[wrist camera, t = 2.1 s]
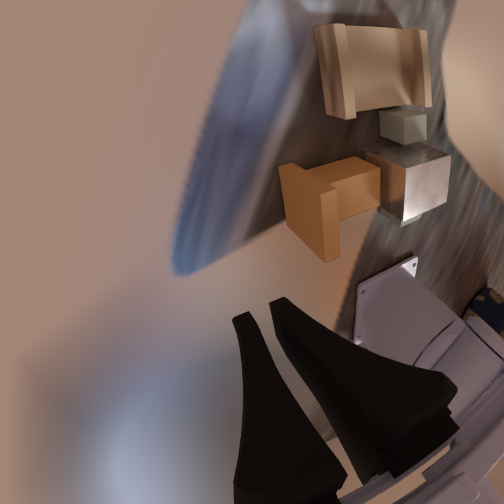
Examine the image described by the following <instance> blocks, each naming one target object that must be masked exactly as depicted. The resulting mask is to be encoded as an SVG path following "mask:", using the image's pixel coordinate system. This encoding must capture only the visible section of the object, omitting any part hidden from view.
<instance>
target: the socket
mask: <svg viewBox="0 0 504 504" xmlns="http://www.w3.org/2000/svg"><path fill="white" fill-rule="evenodd" d="M379 122H380V136H382V137H384V138H387V139H390V140H393V141H395V142H398V143H401V144H403V145H406V144H410V143H414V142H419V141H423V140H426V114H424V113H421V112H417V111H413V110H410V109H406V108H402V107H401V108H394V109H387V110H380V111H379ZM380 214H382V215H383V216H385V217H386V218H388V219H389V220H391V221H392V222H394V223H395V224H397V225H398V226H400V227H402V226H404V225H407V224H409V223H411V222H413V221H415V220H418V219H420V218H421V214H419V215H417V216H414V217H412V218H410V219H408V220H405V221H401V220H400V219H398V218H397V217H395V216H394V215H392V214H391V213H389V212H387V211H386V210H384V209H383V208H381V207H380Z"/></svg>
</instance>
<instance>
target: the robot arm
mask: <svg viewBox="0 0 504 504" xmlns="http://www.w3.org/2000/svg"><path fill="white" fill-rule="evenodd" d="M417 262H418V257H417V256H415V255H414V256H412V257H410V258H408V259H406V260H404V261H402V262H400V263H399V264H397V265H395V266H393V267H391V268H389V269H387V270H385V271H383V272H381V273H379V274H377V275H375V276H373V277H371V278H369V279H367V280H365V281H363V282H361V283H360V284H359V285H358V288H357V302H356V316H355V328H354V339H353V343H352V342H350V341H348V340H347V339H345V338H343V337H341V336H339V335H338V334H336V333H334V332H333V331H331V330H329V329H328V328H326V327H325V326H323V325H322V324H320V323H319V322H317V321H316V320H314V319H312V318H311V317H310V316H309V315H307V314H306V313H305V312H303V311H301V309H299V308H298V307H297V306H295V305H294V304H293V303H292V302H290V301H289V300H288V299H287V298H285V297H282V298H280V299H277V300H275V301H272V302H270V303H269V305H270V310H271V315H272V319H273V324H274V329H275V334H276V337H277V339H278V341H279V343H280V344H281V346H282V348H283V350H284V352H285V354H286V356H287V357H288V359H289V360H290V362H291V363H292V365H293V366H294V368H295V369H296V370H297V372H298V373H299V375H300V376H301V378H302V379H303V381H304V382H305V383H306V385H307V386H308V388H309V389H310V391H311V392H312V393H313V395H314V396H315V398H316V399H317V401H318V402H319V404H320V406H321V408H322V409H323V411H324V413H325V415H326V416H327V418H328V420H329V422H330V424H331V425H332V427H333V429H334V431H335V433H336V435H337V436H338V438H339V440H340V442H341V444H342V446H343V448H344V450H345V452H346V454H347V455H348V457H349V459H350V461H351V463H352V465H353V467H354V469H355V471H356V473H357V475H358V478H359V479H360V481H361V483H362V484H363V486H362V487H360V488H358V489H357V490H355V491H353V492H351V493H349V494H347V495H346V496H343V497H341V498H339V499H338V498H337V495H336V493H337V490H339V489H341V488H342V486H343V484H344V482H345V480H346V478H347V473H346V471H345V469H344V468H343V466H342V465H341V463H340V461H339V460H338V459H337V457H336V456H335V455H334V453H333V452H332V451H331V449H330V448H329V447H328V446H327V444H326V443H325V441H324V440H323V439H322V437H321V436H320V435H319V433H318V432H317V430H316V429H315V428H314V426H313V425H312V423H311V422H310V420H309V419H308V417H307V416H306V415H305V413H304V412H303V410H302V409H301V407H300V405H299V404H298V402H297V401H296V399H295V398H294V396H293V395H292V393H291V392H290V390H289V388H288V387H287V385H286V384H285V382H284V380H283V379H282V377H281V375H280V373H279V372H278V370H277V368H276V366H275V363H274V361H273V359H272V356H271V354H270V352H269V350H268V347H267V345H266V343H265V340H264V338H263V336H262V334H261V331H260V329H259V327H258V324H257V323H256V321H255V320H254V318H253V316H252V315H251V314H250V312H249V311H248V312H245V313H243V314H240V315H238V316H235V317H234V318H233V319H232V322H233V325H234V328H235V330H236V333H237V337H238V341H239V347H240V354H241V362H242V376H243V418H242V431H241V439H240V448H239V455H238V461H237V466H236V471H235V476H234V481H233V484H234V504H363V503H365V502H367V501H369V500H370V499H372V498H374V497H375V496H377V495H378V494H380V493H382V492H383V491H385V490H387V489H388V488H390V487H392V486H393V485H395V484H396V483H398V482H399V481H401V480H402V479H404V478H405V477H407V476H408V475H410V474H411V473H412V472H414V471H415V470H416V469H418V468H419V467H421V466H422V465H423V464H425V463H426V462H427V461H429V460H430V459H431V458H433V457H434V456H435V455H436V454H438V453H439V452H440V451H441V450H442V449H443V448H445V447H446V446H447V445H449V443H450V450H449V451H448V452H447V453H446V454H445V455H444V456H443V457H441V458H440V459H439V460H437V461H436V462H435V463H434V464H432V465H431V466H430V467H429V468H427V469H426V470H425V471H423V472H422V475H423V477H424V478H425V479H426V481H425V482H424V483H423V484H421V485H420V486H418V487H417V488H416V489H414V490H413V491H411V492H410V493H408V494H407V495H405V496H404V497H402V498H401V499H399V500H398V501H396V502H394V503H393V504H504V500H503V498H502V497H501V496H500V494H499V493H498V491H497V490H496V489H495V487H494V486H493V485H492V483H491V482H490V481H489V479H488V478H487V477H486V475H487V474H488V473H489V472H490V470H491V469H492V468H493V467H494V466H495V465H496V463H497V462H498V461H499V460H500V459H501V457H502V458H503V459H504V339H503V338H502V337H501V336H500V335H498V334H497V333H496V332H495V331H494V330H493V329H492V328H491V327H490V326H489V325H488V324H487V323H486V322H484V321H483V320H482V319H481V318H480V317H479V316H477V315H476V316H469V317H468V318H467V320H466V321H464V320H463V319H461V318H460V317H458V316H457V315H456V314H455V313H454V312H453V311H452V310H451V309H450V308H449V307H448V306H446V305H445V304H444V303H443V302H442V301H441V300H440V299H439V298H438V297H436V296H435V295H434V294H433V293H432V292H431V291H430V290H428V289H427V288H426V287H425V286H424V285H423V284H422V283H420V282H419V281H418V280H417V279H416V278H415V273H416V267H417ZM361 342H363V343H364V345H365V346H366V347H367V348H368V349H369V350H367V349H365V348H362V347H360V346H358V344H360V343H361ZM500 374H501V375H500ZM499 375H500V376H499ZM498 377H499V378H498ZM497 378H498V379H497ZM496 379H497V380H496ZM495 380H496V381H495ZM494 381H495V382H494ZM493 382H494V383H493ZM492 384H493V385H492ZM491 385H492V386H491ZM490 386H491V387H490ZM489 387H490V388H489ZM488 388H489V389H488ZM487 389H488V390H487ZM486 390H487V391H486Z"/></svg>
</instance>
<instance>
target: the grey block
mask: <svg viewBox="0 0 504 504" xmlns="http://www.w3.org/2000/svg"><path fill="white" fill-rule="evenodd" d="M357 148H358V158H360V159H362V160H364V161H366V162H369V163H371V164H373V165H375V166H377V167H379V168H380V207H381V208H383V209H384V210H386V211H387V212H389V213H391V214H392V215H394V216H395V217H397V218H398V219H400V220H401V221H405V220H408V219H410V218H412V217H414V216H417V215H419V214H421V213H423V212H426V211H428V210H430V209H432V208H434V207H437V206H439V205H441V204H443V203H445V202H446V201H447V193H448V184H449V175H450V163H451V155H450V154H448V153H445V152H443V151H440V150H438V149H435V148H433V147H430V146H428V145H425V144H423V143H420V142H414V143H410V144H406V145H403V144H401V143H398V142H395V141H393V140H386V141H382V142H378V143H374V144H370V145H365V146H361V147H357Z"/></svg>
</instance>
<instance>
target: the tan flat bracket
mask: <svg viewBox="0 0 504 504" xmlns="http://www.w3.org/2000/svg"><path fill="white" fill-rule="evenodd" d="M313 31H314V36H315V42H316V48H317V54H318V60H319V66H320V73H321V79H322V87H323V94H324V102H325V110H326V114H327V115H331V116H334V117H338V118H342V119H345V120H348V119H353V118H356V112H359V111H365V110H371V109H378V108H384V107H392V106H399V105H407V104H414V105H418V106H422V107H432V100H431V78H430V64H429V52H428V43H427V35H426V31H425V30H411V29H396V28H385V27H369V26H345V24H328V25H322V26H316V27H313Z"/></svg>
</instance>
